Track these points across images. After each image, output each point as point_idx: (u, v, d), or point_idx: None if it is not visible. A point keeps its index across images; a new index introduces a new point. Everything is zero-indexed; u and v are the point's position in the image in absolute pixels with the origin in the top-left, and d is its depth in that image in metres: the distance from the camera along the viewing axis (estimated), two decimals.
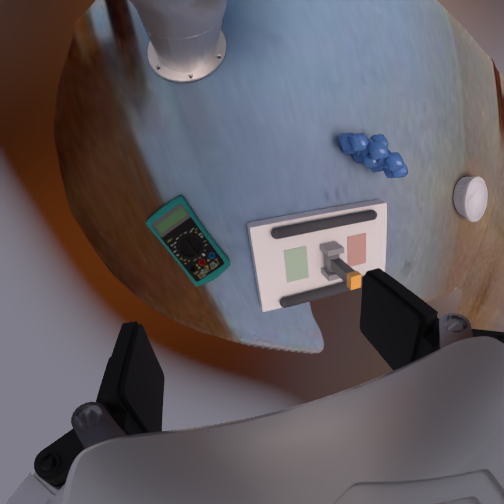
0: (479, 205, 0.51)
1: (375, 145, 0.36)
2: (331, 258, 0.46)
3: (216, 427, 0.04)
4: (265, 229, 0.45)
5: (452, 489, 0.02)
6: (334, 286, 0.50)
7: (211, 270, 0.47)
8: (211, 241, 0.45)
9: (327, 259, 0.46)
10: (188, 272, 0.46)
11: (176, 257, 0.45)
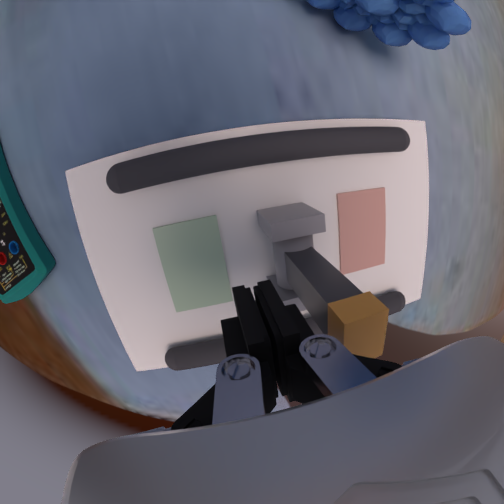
0: None
1: None
2: (286, 249, 0.15)
3: (216, 427, 0.04)
4: (100, 171, 0.15)
5: (452, 489, 0.02)
6: None
7: (17, 278, 0.16)
8: (12, 216, 0.15)
9: (276, 252, 0.16)
10: None
11: None
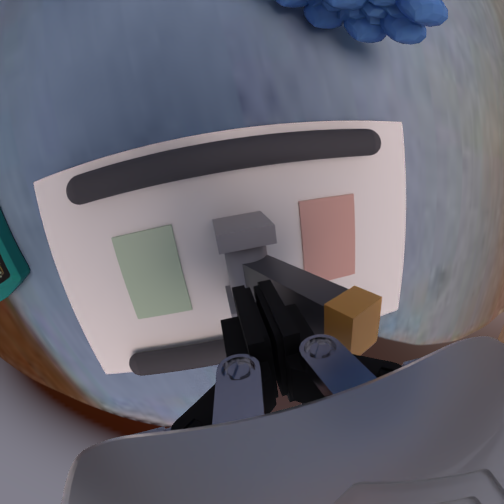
0: None
1: None
2: (244, 260, 0.15)
3: (216, 427, 0.04)
4: (63, 183, 0.14)
5: (452, 489, 0.02)
6: None
7: None
8: None
9: (232, 265, 0.15)
10: None
11: None
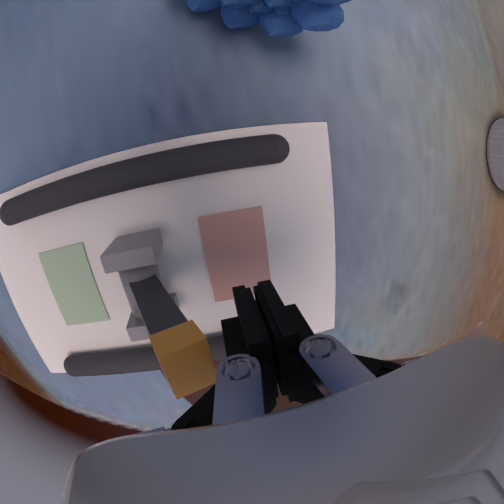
0: None
1: None
2: (130, 279, 0.14)
3: (216, 427, 0.04)
4: (1, 205, 0.14)
5: (452, 489, 0.02)
6: None
7: None
8: None
9: (123, 283, 0.15)
10: None
11: None
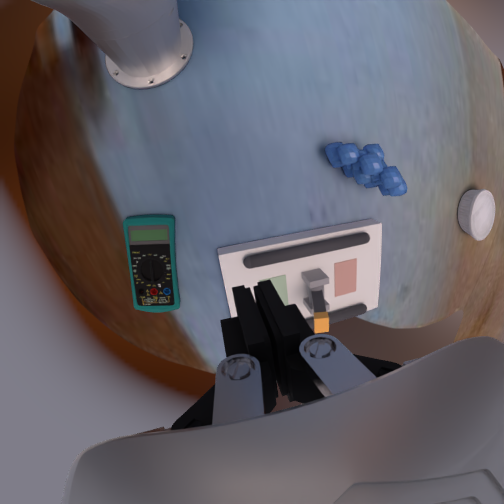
0: (486, 222, 0.45)
1: (367, 158, 0.30)
2: (312, 289, 0.40)
3: (216, 427, 0.04)
4: (237, 257, 0.39)
5: (452, 489, 0.02)
6: None
7: (158, 303, 0.40)
8: (174, 278, 0.40)
9: (308, 289, 0.41)
10: (135, 292, 0.39)
11: (132, 272, 0.38)
